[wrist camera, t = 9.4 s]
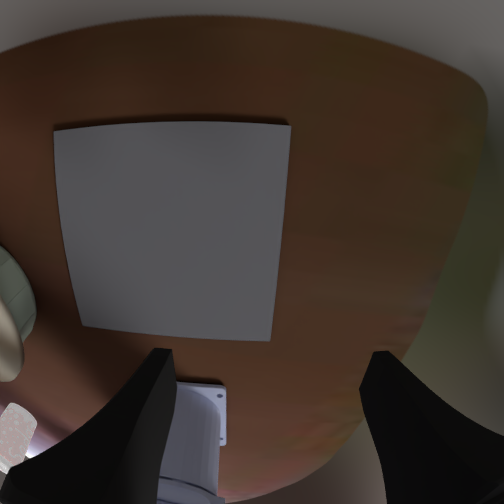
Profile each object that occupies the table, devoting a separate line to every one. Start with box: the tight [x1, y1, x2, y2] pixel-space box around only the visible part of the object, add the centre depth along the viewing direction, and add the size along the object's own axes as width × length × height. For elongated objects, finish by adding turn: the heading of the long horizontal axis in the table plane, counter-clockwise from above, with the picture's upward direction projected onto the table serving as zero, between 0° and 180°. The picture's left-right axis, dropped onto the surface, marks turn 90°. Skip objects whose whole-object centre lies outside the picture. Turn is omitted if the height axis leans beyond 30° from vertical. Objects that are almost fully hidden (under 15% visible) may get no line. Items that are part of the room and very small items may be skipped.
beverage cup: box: [0, 403, 37, 474], centre depth 21 cm, size 6×6×14 cm
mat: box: [54, 121, 291, 341], centre depth 18 cm, size 14×14×1 cm
